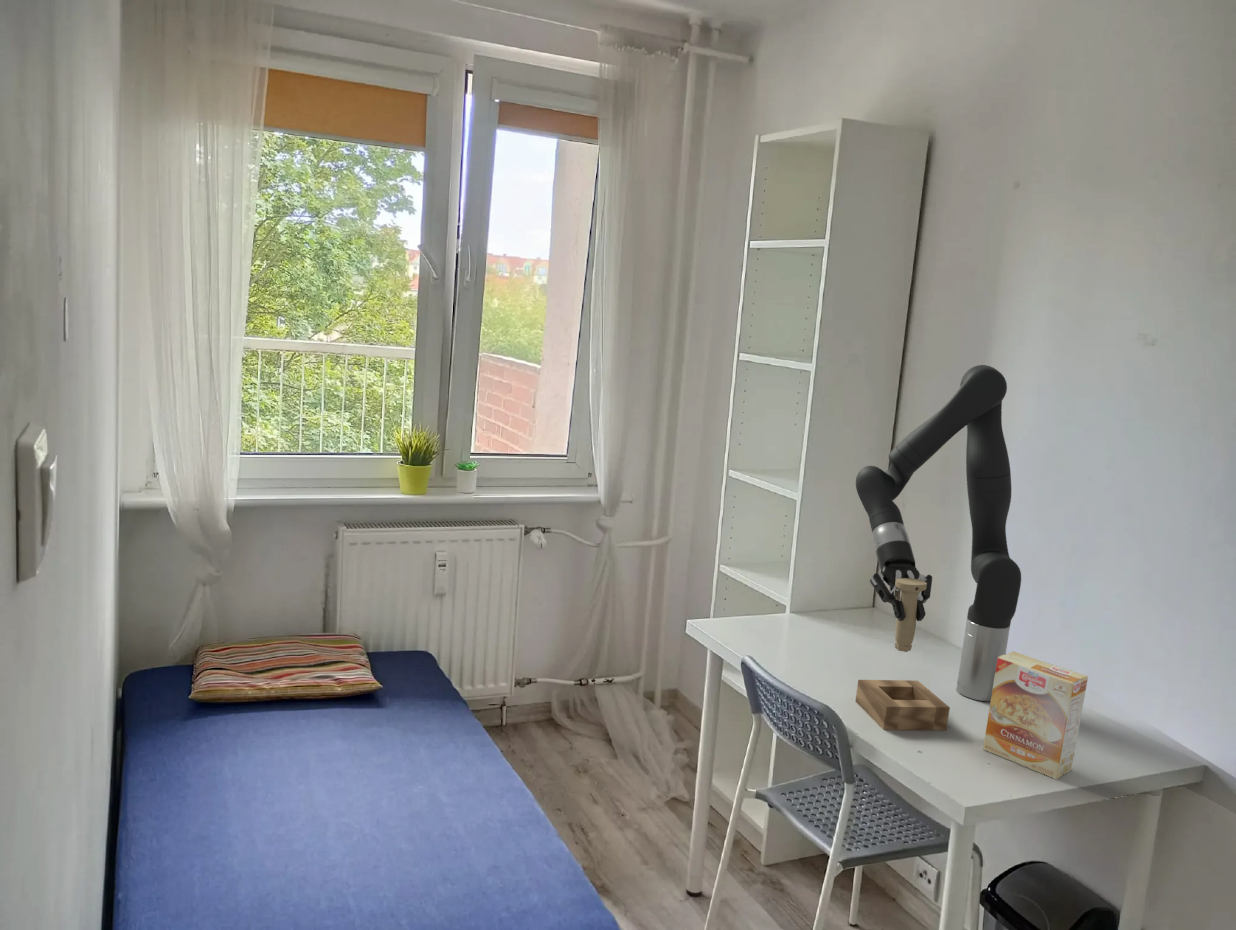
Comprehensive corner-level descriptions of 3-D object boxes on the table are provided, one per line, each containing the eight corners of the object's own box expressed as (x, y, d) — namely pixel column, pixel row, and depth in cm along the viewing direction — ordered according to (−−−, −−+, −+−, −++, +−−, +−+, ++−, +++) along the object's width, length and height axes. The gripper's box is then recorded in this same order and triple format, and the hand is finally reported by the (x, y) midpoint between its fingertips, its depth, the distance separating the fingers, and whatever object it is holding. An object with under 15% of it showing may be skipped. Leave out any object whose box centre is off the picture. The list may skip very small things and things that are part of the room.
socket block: (914, 701, 213) (917, 680, 212) (946, 730, 199) (949, 707, 199) (855, 701, 210) (858, 679, 210) (883, 729, 197) (886, 706, 196)
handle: (922, 653, 203) (931, 585, 200) (895, 654, 201) (903, 585, 199) (910, 645, 207) (918, 578, 205) (883, 645, 206) (891, 578, 203)
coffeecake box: (981, 749, 192) (996, 656, 188) (998, 740, 196) (1013, 649, 193) (1056, 780, 181) (1073, 682, 178) (1072, 770, 186) (1089, 675, 182)
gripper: (868, 538, 207) (886, 610, 197) (930, 539, 209) (950, 611, 199) (856, 555, 213) (872, 626, 203) (916, 557, 215) (935, 627, 205)
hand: (911, 619), depth 201 cm, fingers closed on handle, 3 cm apart
